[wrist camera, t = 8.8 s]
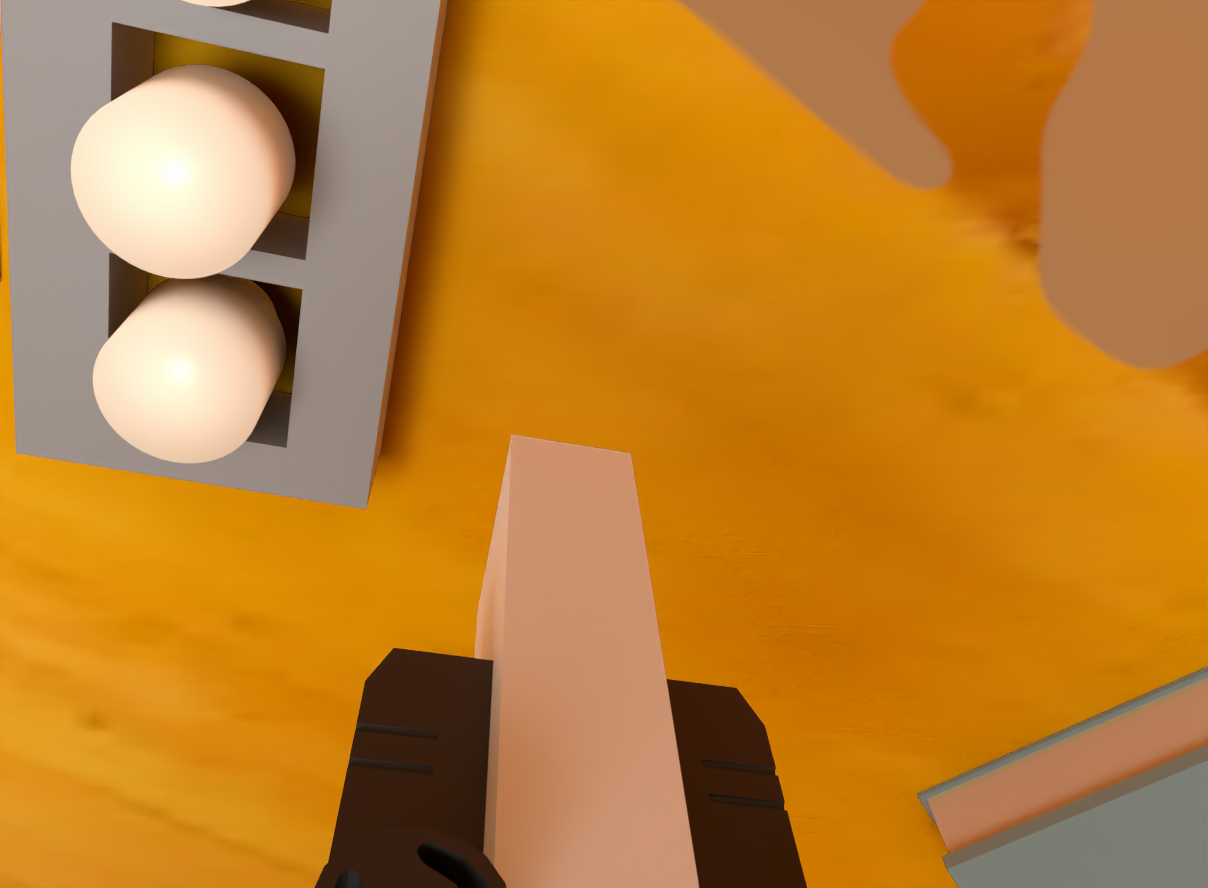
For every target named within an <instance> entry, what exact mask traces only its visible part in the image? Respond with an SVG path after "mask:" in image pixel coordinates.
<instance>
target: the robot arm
mask: <svg viewBox="0 0 1208 888" xmlns="http://www.w3.org/2000/svg"><path fill="white" fill-rule="evenodd" d="M775 768H776V767H775V763H774V759H773V755H772V751H771V748H770V744H769V740H768V736H767V732H766V728H765V726H764V724H763V723H762V722H761V720H760V719H759V718H758V716H757V715H756V714H755V712H754V711H753V710H752V708H751V707H750V706H749V704H748V703H747V702H746V700H745V699H744V698H743V696H742V695H741V694H740V692H739V691H738V689H737V688H732V687H724V686H716V685H708V684H700V683H692V682H685V681H677V680H669V679H666V674H665V667H664V661H663V654H662V648H661V642H660V635H659V629H658V623H657V616H656V610H655V604H654V597H653V591H652V584H651V578H650V572H649V565H648V559H647V553H646V546H645V540H644V534H643V527H642V521H641V514H640V508H639V502H638V495H637V489H636V483H635V476H634V470H633V464H632V457H631V453H627V452H621V451H614V450H608V449H602V448H595V447H589V446H583V445H576V444H570V443H564V442H557V441H551V440H545V439H538V438H532V437H526V436H519V435H513V434H512V436H511V441H510V446H509V451H508V456H507V462H506V467H505V472H504V477H503V482H502V487H501V493H500V498H499V503H498V508H497V513H496V518H495V524H494V529H493V534H492V539H491V544H490V550H489V555H488V560H487V565H486V570H485V575H484V581H483V586H482V591H481V596H480V601H479V606H478V614H477V627H476V640H475V653H474V658H469V657H461V656H453V655H446V654H438V653H430V652H422V651H414V650H406V649H398V648H393V649H392V651H391V652H390V653H389V654H388V655H387V656H386V658H385V659H384V660H383V661H382V662H381V663H380V665H379V666H378V667H377V668H376V669H375V670H374V671H373V673H372V674H371V675H370V676H369V677H368V678H367V680H366V681H365V685H364V690H363V695H362V700H361V705H360V710H359V715H358V719H357V725H356V731H355V734H354V739H353V744H352V749H351V754H350V759H349V765H348V768H347V773H346V778H345V783H344V788H343V793H342V798H341V803H340V808H339V812H338V817H337V822H336V827H335V832H334V837H333V842H332V847H331V852H330V856H329V861H328V864H326V865H325V866H324V868H323V871H322V873H321V875H320V877H319V879H318V882H317V884H316V886H315V888H807V886H806V882H805V878H804V874H803V870H802V866H801V863H800V859H799V855H798V851H797V847H796V843H795V840H794V836H793V832H792V828H791V824H790V820H789V817H788V813H787V811H785V810H784V802H785V801H784V797H783V794H782V790H781V786H780V782H779V778H778V776H776V775H775Z"/></svg>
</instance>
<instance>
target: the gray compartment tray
mask: <svg viewBox="0 0 1208 888" xmlns="http://www.w3.org/2000/svg"><path fill="white" fill-rule="evenodd" d="M447 5H448V0H332V6H331V10H327V9H323V8H318V7H314V6H310V5H305V4H301V3H297V2H292V1H288V0H249V1H246V2H243V3H239V4H236V5H230V6H222V7H215V6H203V5H196V4H192V3H189V2H185V1H182V0H0V8H1V37H2V65H3V94H4V123H5V151H6V180H7V209H8V237H9V266H10V295H11V323H12V352H13V380H14V409H15V438H16V453H19V454H25V455H31V456H37V457H44V458H50V459H56V460H62V461H68V462H75V463H81V464H87V465H93V466H100V467H106V468H112V469H118V470H124V471H131V472H137V473H143V474H149V475H156V476H162V477H168V478H174V479H180V480H187V481H193V482H199V483H205V484H212V485H218V486H224V487H230V488H237V489H243V490H249V491H255V492H261V493H268V494H274V495H280V496H286V497H293V498H299V499H305V500H311V501H317V502H324V503H330V504H336V505H342V506H349V507H355V508H361V509H366V508H367V504H368V500H369V496H370V492H371V488H372V485H373V481H374V477H375V473H376V469H377V465H378V462H379V458H380V453H381V447H382V440H383V433H384V427H385V420H386V413H387V407H388V400H389V393H390V387H391V380H392V373H393V367H394V360H395V353H396V346H397V340H398V333H399V326H400V320H401V313H402V306H403V300H404V293H405V286H406V280H407V273H408V266H409V260H410V253H411V246H412V239H413V233H414V226H415V219H416V213H417V206H418V199H419V193H420V186H421V179H422V173H423V166H424V159H425V153H426V146H427V139H428V132H429V126H430V119H431V112H432V106H433V99H434V92H435V86H436V79H437V72H438V66H439V59H440V52H441V46H442V39H443V32H444V25H445V19H446V12H447ZM155 31H156V32H160V33H165V34H169V35H174V36H178V37H183V38H187V39H192V40H196V41H201V42H205V43H210V44H214V45H219V46H223V47H228V48H232V49H237V50H241V51H246V52H250V53H255V54H259V55H264V56H268V57H273V58H277V59H282V60H286V61H291V62H295V63H300V64H304V65H309V66H313V67H318V68H322V69H325V75H324V85H323V94H322V104H321V114H320V124H319V134H318V144H317V153H316V163H315V173H314V183H313V193H312V203H311V212H310V219H309V218H304V217H299V216H294V215H289V214H284V213H279V212H276V214H275V215H274V217H273V218H272V219H271V221H270V222H269V224H268V225H267V226H266V228H265V229H264V231H263V232H262V233H261V235H260V236H259V238H258V239H257V240H256V242H255V243H254V245H253V246H252V247H251V249H250V250H249V251H248V252H247V253H246V254H245V256H244V257H243V258H242V259H240V260H239V261H238V262H237V263H235V264H234V265H232V266H231V267H229V268H227V269H226V270H224V271H221V272H219V274H224V275H229V276H235V277H240V278H245V279H250V280H256V281H261V282H266V283H271V284H277V285H282V286H287V287H292V288H298V289H303V291H302V301H301V311H300V321H299V330H298V340H297V350H296V360H295V370H294V380H293V389H292V394H289V393H284V392H278V391H272V393H271V395H270V397H269V399H268V401H267V403H266V405H265V407H264V409H263V411H262V413H261V415H260V417H259V419H258V421H257V423H256V425H255V427H254V429H253V431H252V433H251V434H250V436H249V437H248V438H247V440H246V441H245V442H244V443H243V444H242V445H241V446H240V447H238V448H237V449H236V450H234V451H233V452H231V453H230V454H228V455H226V456H224V457H221V458H219V459H216V460H212V461H208V462H202V463H177V462H171V461H167V460H163V459H159V458H156V457H153V456H151V455H149V454H147V453H144V452H142V451H141V450H139V449H137V448H135V447H134V446H132V445H131V444H130V443H128V442H127V441H125V440H124V439H123V438H122V437H121V436H120V435H119V434H118V433H117V432H116V431H115V430H114V429H113V428H112V427H111V426H110V425H109V423H108V422H107V420H106V419H105V417H104V416H103V414H102V412H101V410H100V408H99V406H98V403H97V401H96V398H95V393H94V389H93V369H94V365H95V361H96V359H97V356H98V354H99V352H100V350H101V349H102V347H103V346H104V344H105V343H106V342H107V341H108V340H109V338H110V337H111V336H112V335H113V334H114V333H115V331H116V330H117V329H118V328H119V327H120V326H121V325H122V323H123V322H124V321H125V320H126V319H127V318H128V317H129V315H130V314H131V313H132V312H133V311H134V310H135V309H136V307H137V306H138V305H139V304H140V303H141V302H142V300H143V299H144V298H145V297H146V296H147V278H148V272H147V271H144V270H142V269H140V268H138V267H136V266H134V265H132V264H130V263H128V262H127V261H125V260H123V259H122V258H120V257H119V256H118V255H116V254H115V253H114V252H113V251H111V250H110V249H109V248H108V247H107V246H106V245H105V244H104V243H103V242H102V241H101V240H100V239H99V238H98V237H97V236H96V234H95V233H94V232H93V231H92V229H91V228H90V226H89V225H88V223H87V222H86V220H85V219H84V217H83V215H82V213H81V211H80V209H79V207H78V204H77V201H76V198H75V195H74V191H73V186H72V181H71V158H72V153H73V148H74V145H75V142H76V140H77V137H78V135H79V133H80V131H81V130H82V128H83V126H84V125H85V123H86V122H87V121H88V120H89V119H90V117H91V116H92V115H93V114H94V113H96V112H97V111H98V110H99V109H100V108H102V107H103V106H105V105H106V104H108V103H110V102H111V101H113V100H115V99H116V98H118V97H120V96H121V95H123V94H125V93H126V92H128V91H130V90H131V89H133V88H135V87H136V86H138V85H140V84H141V83H143V82H145V81H146V80H148V79H150V78H151V77H153V71H154V37H155Z"/></svg>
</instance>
